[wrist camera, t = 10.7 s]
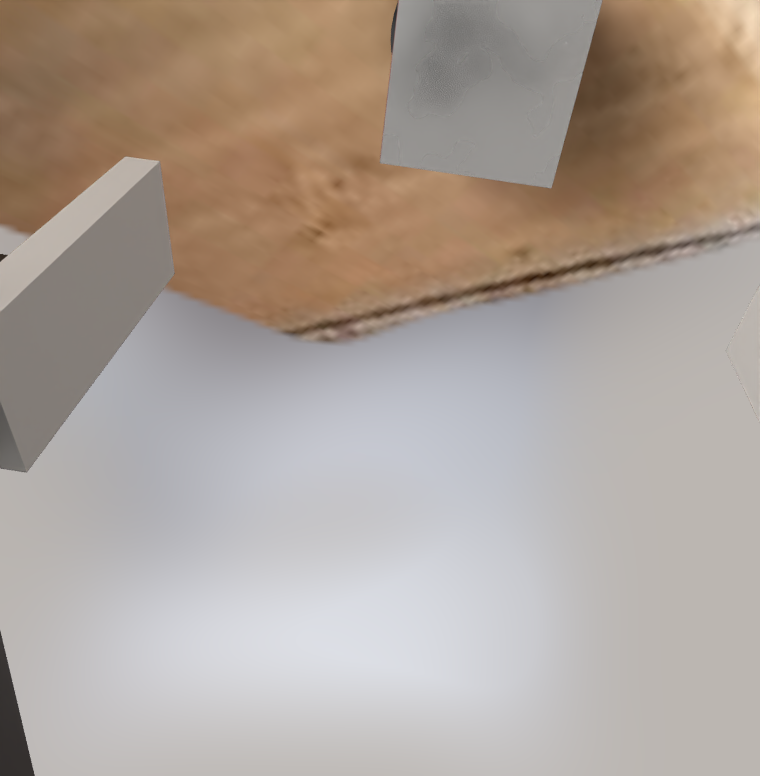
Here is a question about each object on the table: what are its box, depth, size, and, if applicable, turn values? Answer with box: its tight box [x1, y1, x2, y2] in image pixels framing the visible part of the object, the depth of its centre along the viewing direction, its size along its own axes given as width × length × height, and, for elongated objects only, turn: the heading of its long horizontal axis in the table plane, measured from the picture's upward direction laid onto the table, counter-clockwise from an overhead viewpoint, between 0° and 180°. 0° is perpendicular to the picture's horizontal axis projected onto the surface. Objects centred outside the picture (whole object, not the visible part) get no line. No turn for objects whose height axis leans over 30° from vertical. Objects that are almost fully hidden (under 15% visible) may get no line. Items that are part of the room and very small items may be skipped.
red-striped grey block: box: [380, 0, 602, 188], centre depth 27 cm, size 6×6×10 cm
